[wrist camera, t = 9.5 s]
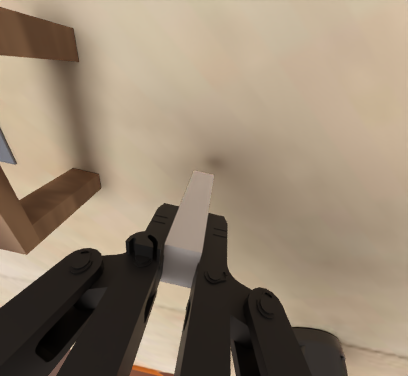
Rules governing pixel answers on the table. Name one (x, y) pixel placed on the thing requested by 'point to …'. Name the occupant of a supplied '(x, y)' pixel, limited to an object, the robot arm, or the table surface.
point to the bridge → (61, 186)
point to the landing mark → (5, 151)
